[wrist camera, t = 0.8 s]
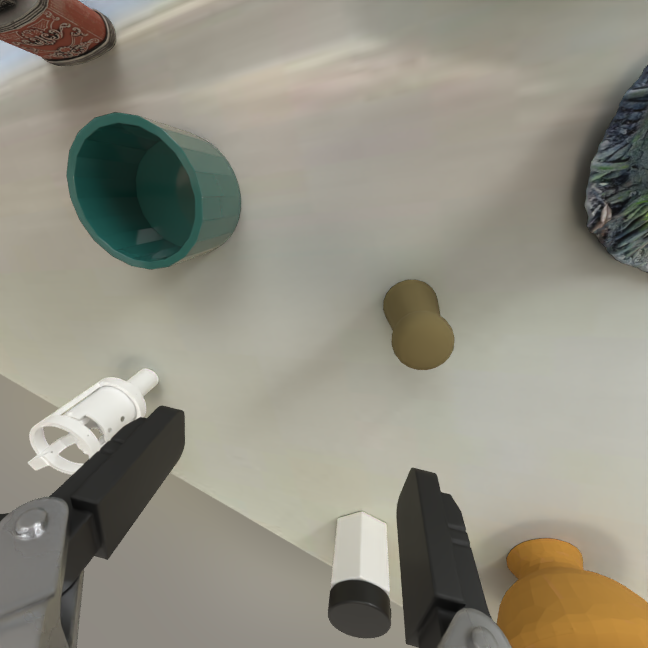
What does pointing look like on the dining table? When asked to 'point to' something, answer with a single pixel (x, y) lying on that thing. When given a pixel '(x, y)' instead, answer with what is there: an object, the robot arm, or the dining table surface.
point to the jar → (360, 577)
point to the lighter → (56, 30)
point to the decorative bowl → (567, 602)
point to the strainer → (92, 419)
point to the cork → (417, 325)
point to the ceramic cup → (151, 190)
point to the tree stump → (623, 181)
